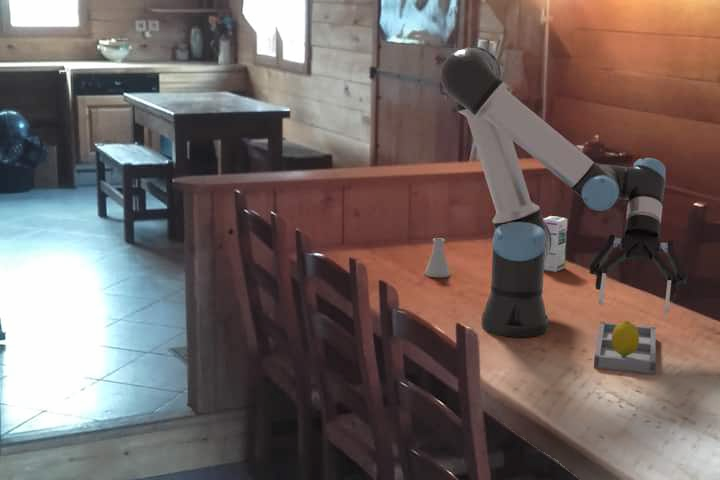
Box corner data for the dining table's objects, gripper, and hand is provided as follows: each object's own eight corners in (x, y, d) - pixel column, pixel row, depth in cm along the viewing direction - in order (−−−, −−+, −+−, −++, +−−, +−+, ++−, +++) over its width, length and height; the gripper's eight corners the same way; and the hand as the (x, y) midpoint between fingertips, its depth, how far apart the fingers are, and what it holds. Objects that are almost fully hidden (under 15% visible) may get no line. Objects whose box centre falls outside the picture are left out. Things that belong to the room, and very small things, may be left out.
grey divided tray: (654, 374, 197) (655, 363, 197) (593, 367, 200) (594, 356, 200) (654, 338, 219) (655, 327, 218) (599, 332, 222) (600, 321, 221)
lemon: (638, 362, 201) (641, 326, 199) (610, 360, 202) (614, 324, 200) (636, 353, 206) (639, 317, 204) (609, 351, 207) (612, 315, 205)
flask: (451, 278, 263) (452, 242, 260) (424, 278, 263) (425, 242, 260) (449, 271, 270) (451, 236, 267) (423, 271, 270) (424, 235, 267)
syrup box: (556, 272, 270) (559, 221, 267) (537, 268, 274) (540, 218, 270) (565, 268, 275) (568, 218, 271) (546, 264, 278) (549, 215, 275)
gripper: (700, 236, 217) (693, 321, 208) (586, 225, 225) (574, 306, 215) (703, 218, 211) (696, 305, 201) (586, 207, 219) (573, 291, 209)
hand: (633, 306), depth 208 cm, fingers open, 13 cm apart
